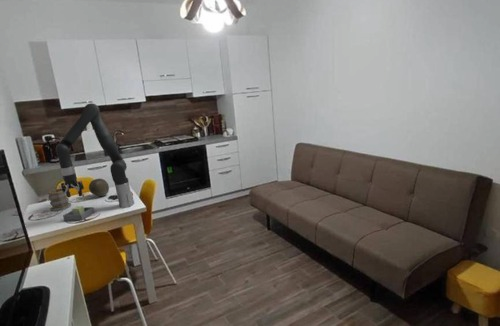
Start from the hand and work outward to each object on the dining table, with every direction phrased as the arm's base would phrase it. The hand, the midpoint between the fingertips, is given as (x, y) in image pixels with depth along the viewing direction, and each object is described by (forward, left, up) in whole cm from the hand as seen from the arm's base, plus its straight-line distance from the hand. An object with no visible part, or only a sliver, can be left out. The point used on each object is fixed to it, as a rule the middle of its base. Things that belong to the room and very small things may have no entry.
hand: (75, 196), depth 203 cm
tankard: (+31, -22, -15) cm, 41 cm away
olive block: (0, 0, -14) cm, 14 cm away
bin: (0, 0, -15) cm, 15 cm away
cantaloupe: (+11, -41, -15) cm, 45 cm away
